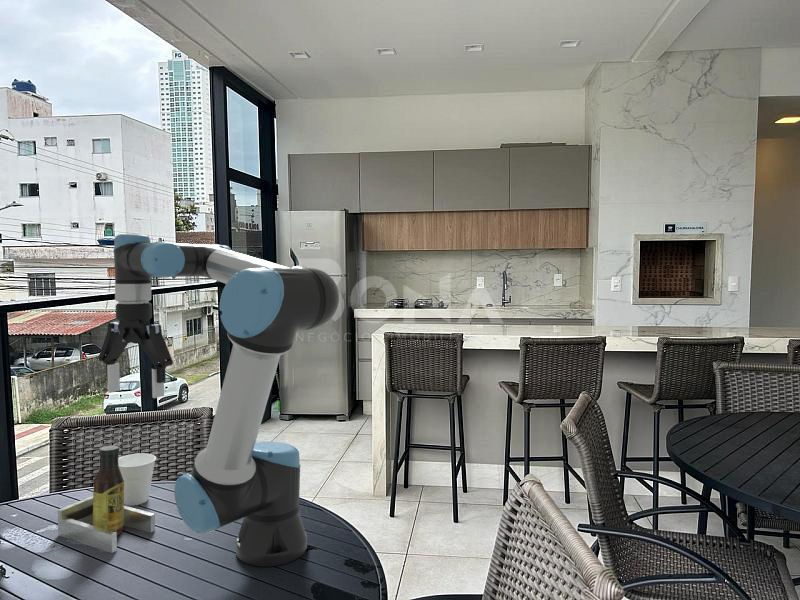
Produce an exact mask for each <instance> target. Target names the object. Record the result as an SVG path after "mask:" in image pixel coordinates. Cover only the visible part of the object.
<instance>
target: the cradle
mask: <svg viewBox="0 0 800 600" xmlns="http://www.w3.org/2000/svg"><path fill="white" fill-rule="evenodd" d="M123 526H125V527H130V528H133V529H137V530H140V531H144V532H147V533H151V534H152V533H154V532H155V531H156V513H154V512H150V511H146V510H143V509H138V508H135V507H133V506H128V505H125V504H124V525H123ZM57 531H58V533H57V535H58V537H61V538H64V539H67V540H70V541H74V542H76V543H79V544H82V545H85V546H89V547H92V548H94V549H98V550H100V551H103V552H106V553H110V554H114V553H115V552H117V551H118V540H117V539H118V535H117V533H116V532H113V531H109V530H106V529H103V528H100V527H96V526H93V495H91V496H88V497H86V498H84V499H82V500H78V501H76V502H74V503H72V504H71V503H70V504H68V505H66V506H64V507H61V508H59V509H57Z"/></svg>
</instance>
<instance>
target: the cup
mask: <svg viewBox="0 0 800 600" xmlns="http://www.w3.org/2000/svg"><path fill="white" fill-rule="evenodd" d="M156 460H157V456H155V455H154V454H152V453H145V452H143V453H131V454H126V455H124V456H123V455H122V456H120V457H118V463H119V465H118V466H119V469H120V472H121V474H122V477H123V480H124V505H125V506H128V507H133V506H135V505H136V506H139V504H140V505H143V504H145V503H146V502H147V501H148V500H149V498H150V492H151V485H152V478H153V473H154V468H155V463H156V462H155V461H156ZM142 503H143V504H142Z"/></svg>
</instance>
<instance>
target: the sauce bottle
mask: <svg viewBox="0 0 800 600" xmlns="http://www.w3.org/2000/svg"><path fill="white" fill-rule="evenodd" d="M119 453H120V446H118V445H111V444H110V445H105V446H102V447H99V449H98V454H99V469H98V471H97V472H96V475H95V476H94V479H93V490H92V496H93V523H92V525H93V526H96V527H100V528H103V529H106V530H109V531H113V532H116V533H117V536H119V535H120V534H121V533H122V532H123V530H124V529H123V528H124V526H125V525H124V505H125V504H124V480H123V477H122V474H121V472H120V469H119V466H118V465H119V463H118V458H119Z"/></svg>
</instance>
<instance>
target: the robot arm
mask: <svg viewBox="0 0 800 600" xmlns="http://www.w3.org/2000/svg"><path fill="white" fill-rule="evenodd" d="M113 243H114V244H113V252H112V253H113V256H114V257H113V260H114V261H113V262H114V283H115V284H114V301H115V302H118V303H116V304H114V305H115V319H116V320H117V321H113V322H111V321H110V322H108V323H107V332H106V335H105V338H104V341H103V344H102V347H101V349H100V353H99V355H98V357H97V359H98V361H99V362H103V363H104V364H105V376H106V378H107V394H108V393H109V394H111V393H115V392H120V391H121V385H120V384H121V381H120V375H121V373H120V363H119V358H120V357H121V355H122V353H123V352H124V350H125V349H126V347H127V346H128V344H137V345H138V346H140V347H141V349H143V351H144V353H145V354H146V356H147V357H148V359H149V360H150V362H151V364H152V365H153V367H152V368H151V389H152V390H151V391H152V394H151V395H152V398H153V399H157V398H162V397H164V396H165V382H166V380H167V379H166V374H167V373H166V368H167V367H169V366H172V365H174V362H173V361H174V360H173V359H172V356H171V353H170V351H169V347H168V346H167V343H166V340H165V338H164V335H163V330H162V325H161V323H155V324H150V320H151V319H152V317H153V313H152V312H153V311H152V310H153V306H152V303H151V302H149V301H151V300H152V278H159V279H161V278H178V277H179V278H180V277H183V278H184V277H189V278H191V277H202V278H208V279H211V280H214V281H217V282H219V283H220V282H221V283H223V284H225V286H224V288H222V291H221V292H222V293H221V296H220V302H219V311H220V312H221V314H220V320H221V323H222V325H223V327H224V329H225V330H226V331H227V332H226V333H227V337H228V339H229V341H230V342H231V343H232V348H231V352H230V356H229V360H228V363H227V366H226V372H225V376H224V379H223V382H222V387H221V390H220V391H221V392H220V393H219V394H220V395H219V399H218V402H217V406H216V410H215V413H214V414H215V415H214V418H213V422H212V425H211V430H210V434H209V437H208V441H207V446H206V447H205V448H204V449H202V450H200V451H198V453H197V455H196V456H195V460H194V463H193V466H192V469H191V472H189V473H187V472H185V473H183V474H182V475H180V476H179V477H178V478H177V479H176V480H175V484H174V492H173V493H174V500H175V504H176V505H175V506H176V508H177V510H178V511H177V512H178V513H179V516H180V517H181V519H182V520H183V522H184V524H185V525H186V526H187V528H188V529H190V530H191V531H193V532H194V533H197V534H205V533H208V532H211V531H217V530H219V529H220V528H222V527H224V526H227V525H229V524H232V523H234V522H236V521H239V520H241V519H243V520H242V523H241V526H240V529H239V532H238V535H237V537H236V542H235V546H236V547H235V553H236V556H237V559H239V560H240V561H241V562H242V563H244V564H248V565H250V566H255V567H276V566H277V567H278V566H281V565H286V564H288V563H291V562H293V561H295V560H297V559H299V558H300V557H302V556H303V555H304V554H305V553H306V551H307V548H308V536H307V532H306V530H305V527H304V523H303V520H302V516H301V513H300V493H301V492H300V488H301V486H300V482H301V464H300V452H299V449H298V448H296V447H295V446H294V445H292V444H290V443H289V444H288V443H286V442H279V441H265V440H263V441H257V439H258V435H259V431H260V428H261V424H262V421H263V417H264V414H265V411H266V406H267V403H268V400H269V397H270V393H271V390H272V386H273V383H274V380H275V375H276V373H277V372H276V371H277V368H278V365H279V361H280V359H281V356H283V355H286V353H288V352H289V351H291V350H292V346H293V343H294V341H295V337H296V334H297V332H300V331H301V332H302V331H308V330H315V329H317V328H320V327H322V326H324V325H326V324H327V323H328V322H330V321H331V319H332V318H333V317H334V315H335V313H336V312H337V309H338V308H339V302H340V292H339V288H338V285H337V284H336V282H335V281H334V279H333V278H332V277H331V275H330V274H328V273H327V272H325V271H324V270H321V269H317V268H312V267H307V266H302V265H296V266H293V267H288V266H285V265H282V264H278V263H275V262H272V261H268V260H265V259H261V258H257V257H254V256H250V255H247V254H244V253H240V252H236V251H233V250H232V248H231V247H230V246H228V245H222V244H217V243H213V244H202V243H200V244H197V243H193V244H192V243H180V242H169V241H159V240H158V241H155V242H152V241H151V238H150V236H149V235H147V234H140V233H139V234H135V233H134V234H133V233H132V234H130V233H126V234H124V233H123V234H117V235H116V236H115V237H114V242H113Z"/></svg>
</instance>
